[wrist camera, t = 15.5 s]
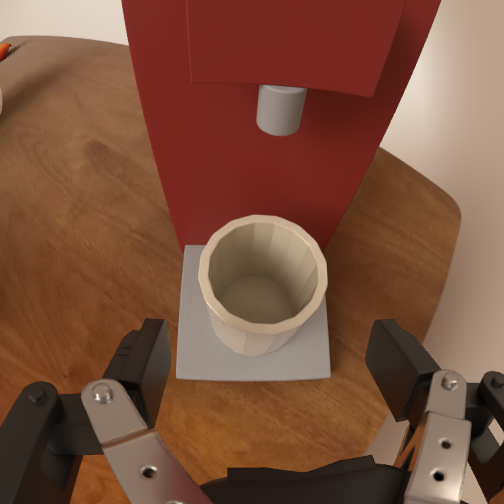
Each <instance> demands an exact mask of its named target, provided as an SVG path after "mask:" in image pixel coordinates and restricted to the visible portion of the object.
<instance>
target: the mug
mask: <svg viewBox="0 0 504 504" xmlns="http://www.w3.org/2000/svg"><path fill="white" fill-rule="evenodd" d="M1 112H2V94H1V89H0V115H1Z"/></svg>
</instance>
